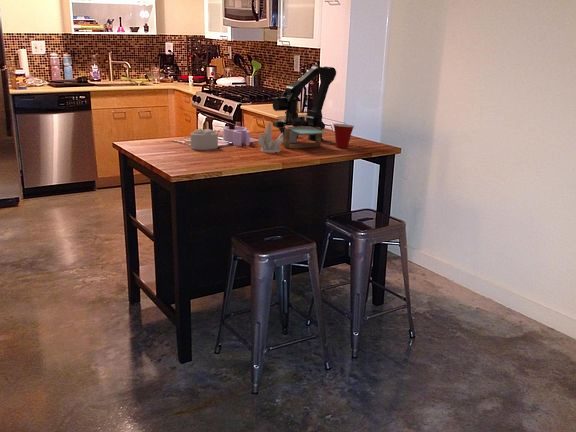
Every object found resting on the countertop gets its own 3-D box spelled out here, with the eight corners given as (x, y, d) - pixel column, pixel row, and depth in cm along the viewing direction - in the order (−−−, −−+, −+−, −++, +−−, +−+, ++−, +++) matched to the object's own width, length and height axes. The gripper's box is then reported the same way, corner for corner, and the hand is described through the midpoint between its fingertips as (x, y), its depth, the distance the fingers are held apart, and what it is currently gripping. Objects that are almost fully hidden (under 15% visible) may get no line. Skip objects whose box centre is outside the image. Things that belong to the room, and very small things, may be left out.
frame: (283, 147, 279) (284, 128, 276) (318, 145, 288) (319, 127, 285) (285, 148, 278) (286, 129, 275) (320, 146, 286) (321, 128, 283)
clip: (255, 145, 282) (255, 132, 280) (232, 146, 276) (232, 133, 274) (241, 138, 299) (241, 125, 297) (219, 139, 293) (219, 126, 291)
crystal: (288, 151, 271) (289, 120, 266) (264, 153, 264) (265, 122, 259) (277, 147, 279) (279, 117, 274) (254, 149, 272) (255, 118, 267)
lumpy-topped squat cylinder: (220, 148, 271) (220, 130, 269) (197, 150, 263) (197, 132, 261) (208, 144, 279) (208, 127, 276) (186, 147, 271) (185, 129, 268)
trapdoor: (286, 133, 282) (286, 126, 281) (310, 132, 288) (310, 126, 287) (300, 139, 269) (300, 132, 267) (325, 138, 275) (326, 131, 273)
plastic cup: (355, 147, 289) (357, 123, 285) (348, 150, 279) (350, 126, 276) (335, 144, 293) (337, 121, 289) (328, 147, 284) (330, 124, 280)
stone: (292, 141, 298) (292, 131, 296) (296, 142, 294) (296, 133, 292) (283, 141, 296) (284, 132, 294) (287, 143, 291) (288, 133, 290)
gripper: (282, 112, 279) (280, 143, 283) (314, 112, 287) (312, 142, 291) (272, 109, 288) (271, 139, 293) (304, 109, 296) (303, 138, 301)
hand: (290, 139), depth 294 cm, fingers open, 7 cm apart
